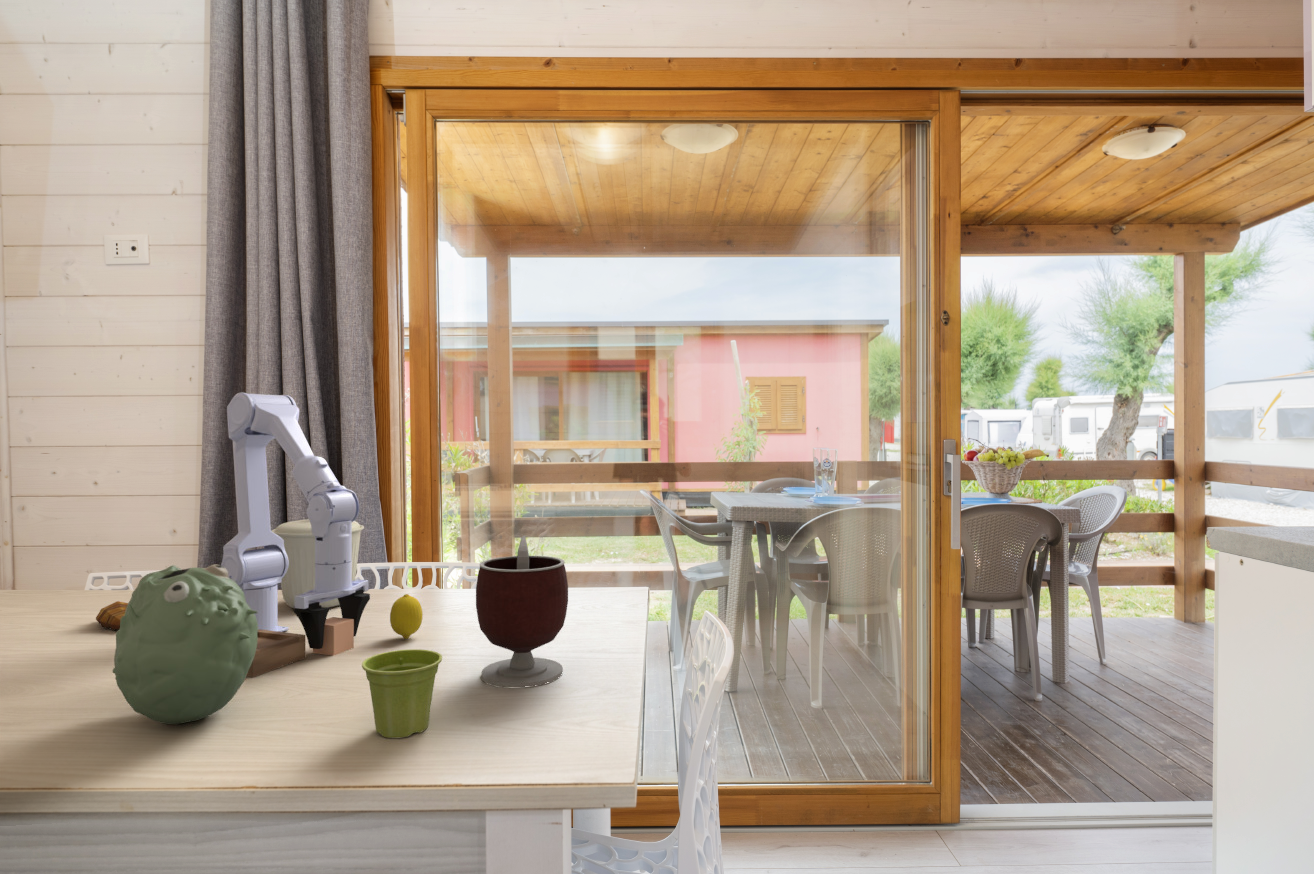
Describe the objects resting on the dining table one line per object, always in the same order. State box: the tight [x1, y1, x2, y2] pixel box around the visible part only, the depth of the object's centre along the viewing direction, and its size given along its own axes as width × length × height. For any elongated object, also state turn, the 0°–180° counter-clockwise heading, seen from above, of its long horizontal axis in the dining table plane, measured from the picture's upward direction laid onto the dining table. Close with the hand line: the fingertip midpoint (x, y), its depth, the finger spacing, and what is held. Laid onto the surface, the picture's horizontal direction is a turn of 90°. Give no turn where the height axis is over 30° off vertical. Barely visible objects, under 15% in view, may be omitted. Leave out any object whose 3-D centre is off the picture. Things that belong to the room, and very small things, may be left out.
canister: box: [271, 518, 365, 609], centre depth 156 cm, size 18×18×21 cm
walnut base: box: [246, 629, 306, 678], centre depth 116 cm, size 10×10×4 cm
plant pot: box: [361, 648, 443, 739], centre depth 90 cm, size 9×9×9 cm
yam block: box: [312, 616, 355, 656], centre depth 123 cm, size 4×4×5 cm
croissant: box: [95, 601, 129, 632], centre depth 138 cm, size 14×7×5 cm, turn 54°
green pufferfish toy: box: [112, 563, 258, 725], centre depth 93 cm, size 16×19×20 cm
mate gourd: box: [475, 535, 569, 688], centre depth 112 cm, size 16×14×20 cm
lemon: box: [389, 593, 424, 640], centre depth 130 cm, size 6×6×8 cm
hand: (333, 641), depth 123 cm, fingers open, 7 cm apart
